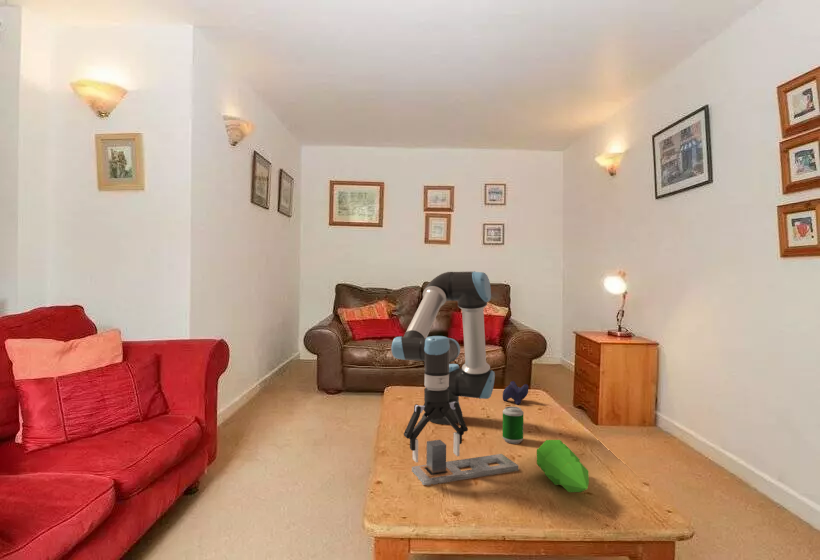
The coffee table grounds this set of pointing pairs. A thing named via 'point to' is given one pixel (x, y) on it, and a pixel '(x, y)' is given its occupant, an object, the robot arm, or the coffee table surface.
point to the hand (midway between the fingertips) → (436, 457)
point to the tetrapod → (515, 392)
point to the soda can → (513, 425)
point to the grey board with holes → (478, 470)
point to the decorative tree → (562, 466)
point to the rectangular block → (436, 457)
